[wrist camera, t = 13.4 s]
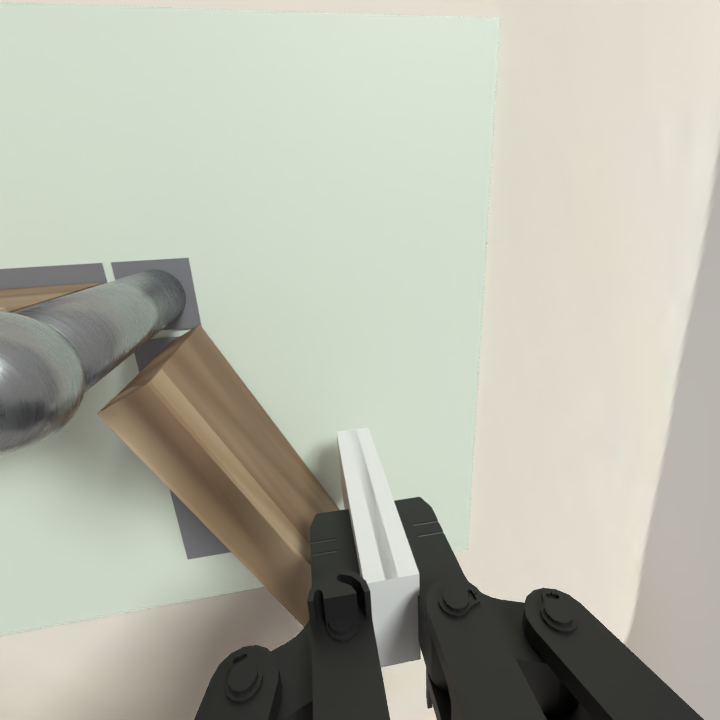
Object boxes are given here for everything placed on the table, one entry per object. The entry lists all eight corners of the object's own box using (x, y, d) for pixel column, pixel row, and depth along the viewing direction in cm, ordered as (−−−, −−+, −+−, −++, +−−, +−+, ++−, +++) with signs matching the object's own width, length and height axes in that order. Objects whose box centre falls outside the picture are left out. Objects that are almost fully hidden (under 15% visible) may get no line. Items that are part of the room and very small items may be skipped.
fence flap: (202, 323, 14) (150, 381, 8) (341, 508, 17) (364, 627, 12) (168, 343, 14) (96, 413, 9) (314, 524, 17) (325, 649, 12)
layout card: (-689, -13, 8) (-734, -24, 8) (495, 22, 13) (501, 16, 12) (-175, 662, 16) (-186, 672, 16) (465, 544, 20) (468, 550, 20)
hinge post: (119, 264, 13) (-215, 341, 4) (188, 260, 13) (3, 323, 5) (135, 327, 14) (-123, 500, 5) (200, 321, 14) (58, 475, 5)
